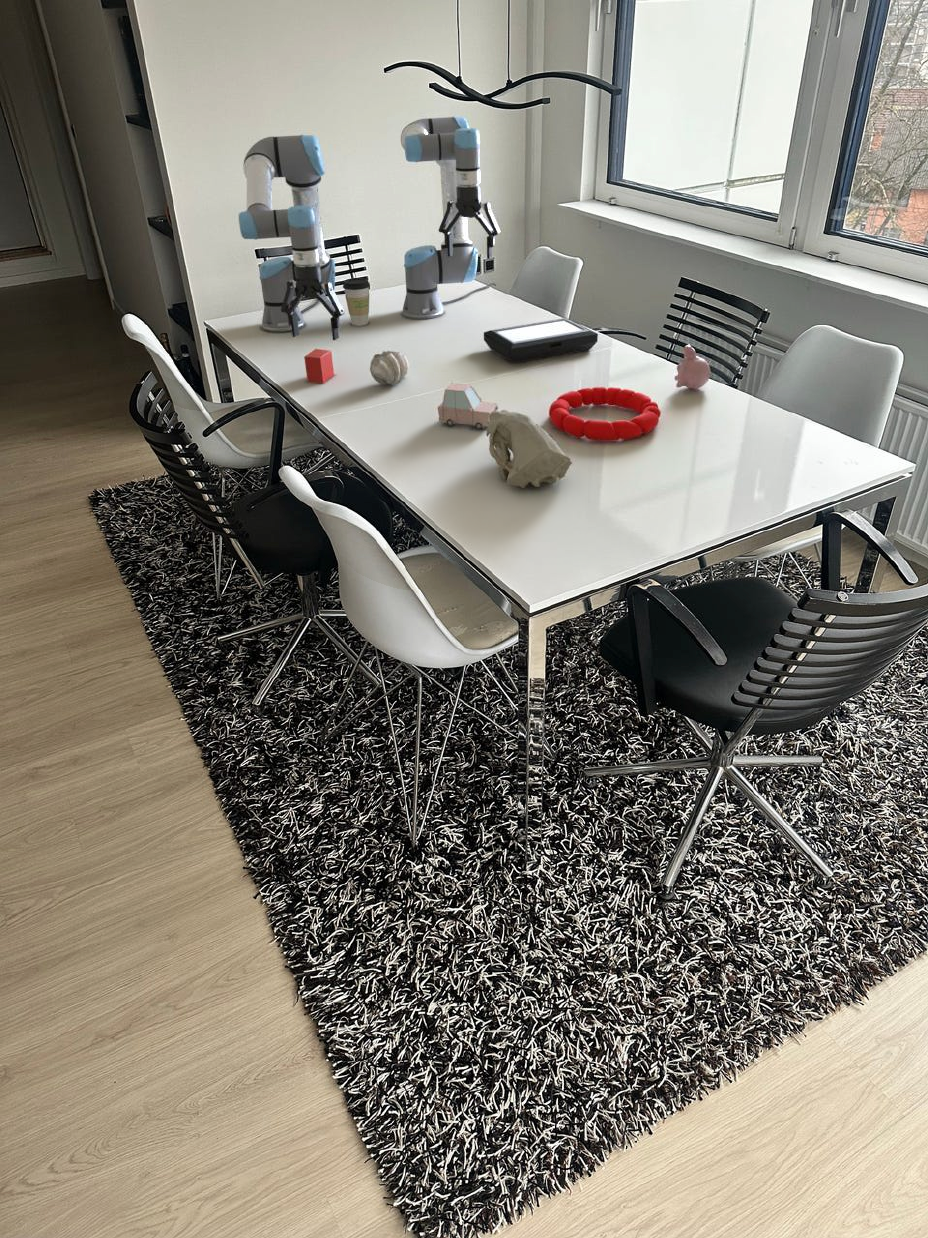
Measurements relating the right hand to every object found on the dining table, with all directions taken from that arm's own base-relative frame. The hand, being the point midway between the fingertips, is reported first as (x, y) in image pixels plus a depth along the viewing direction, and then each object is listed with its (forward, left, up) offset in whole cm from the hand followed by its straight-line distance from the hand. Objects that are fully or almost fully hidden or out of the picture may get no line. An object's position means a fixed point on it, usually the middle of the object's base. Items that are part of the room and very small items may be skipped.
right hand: (469, 256), depth 290 cm
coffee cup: (-12, -47, -28) cm, 56 cm away
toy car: (+70, +20, -28) cm, 78 cm away
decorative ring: (+61, +56, -28) cm, 87 cm away
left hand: (+45, -36, -15) cm, 60 cm away
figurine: (+30, +76, -28) cm, 86 cm away
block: (+45, -36, -28) cm, 64 cm away
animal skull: (+96, +41, -28) cm, 108 cm away
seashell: (+45, -12, -28) cm, 54 cm away
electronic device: (+4, +25, -28) cm, 37 cm away
